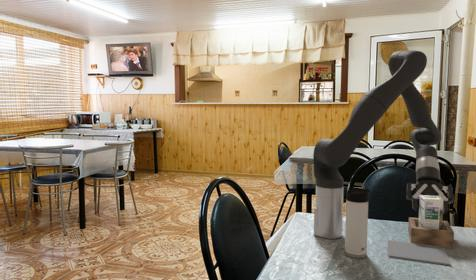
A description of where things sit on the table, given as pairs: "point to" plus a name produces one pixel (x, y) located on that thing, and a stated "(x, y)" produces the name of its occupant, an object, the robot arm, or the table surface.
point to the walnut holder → (430, 234)
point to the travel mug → (356, 223)
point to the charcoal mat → (417, 252)
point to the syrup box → (430, 212)
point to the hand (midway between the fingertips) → (430, 211)
